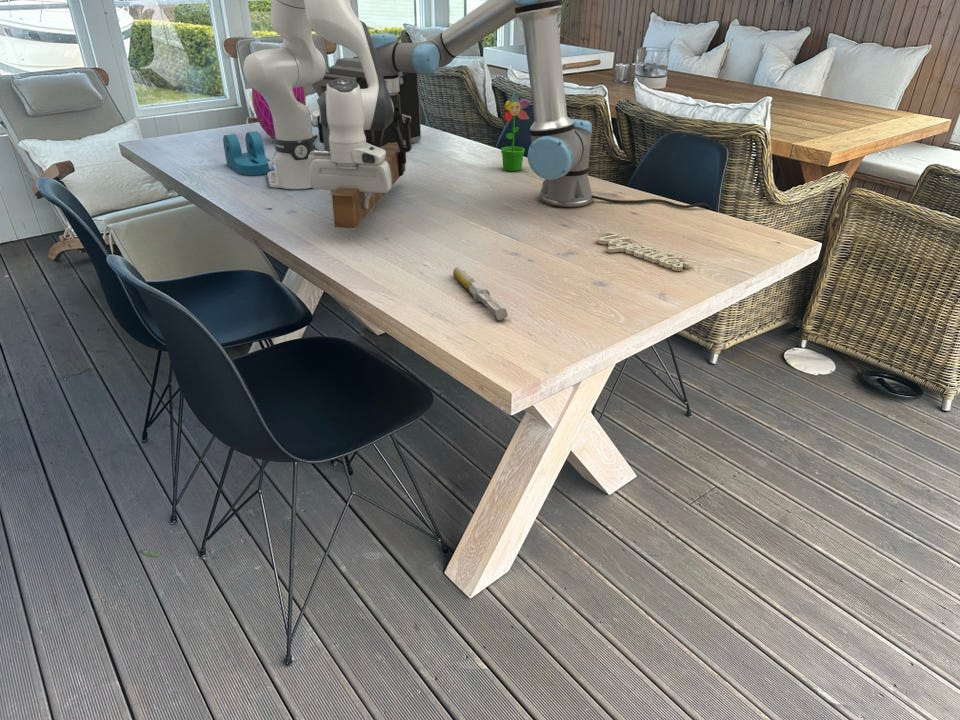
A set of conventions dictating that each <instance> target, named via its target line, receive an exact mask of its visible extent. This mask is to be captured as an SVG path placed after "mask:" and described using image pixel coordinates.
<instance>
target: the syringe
mask: <svg viewBox="0 0 960 720" xmlns="http://www.w3.org/2000/svg"><path fill="white" fill-rule="evenodd" d="M452 274H453V277H454V279H455V280H457V281H458V282H459V283H460V285H462V287H464V289H466V290H467V291H468V293H470V295H471V296H472V298H473V300H474V302H477V303H478V302H480V303H482V304H483V305H484V306H485V307H486V308H487V309H488V310H489V311H490V312H491V313H492V314H493V315H494V316H495V317H496V320H497V321H503V320H504V319H506V318H507V317H509V314H508V310H507V308H506V307H502V306H501V305H500V303H498V302H497V301H496V300H494V299H493V298H492V297H491V296H490V295H491V293H490V290H488V289H486V288H483V287H482V286H481V285H480V284H479V283H478V282H477V281H476V280H474V278H473V277H471V275H469V274H468V273H467V272H466V270H465V269H464V268H463V267H462V266H456V267H454V268H453V271H452Z"/></svg>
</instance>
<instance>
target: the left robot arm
mask: <svg viewBox="0 0 960 720" xmlns="http://www.w3.org/2000/svg"><path fill="white" fill-rule="evenodd" d="M270 6H271V7H270V15H269V16H270V19H269V22H270V25H271V27H272V29H273V30H274V31H275V33H276V34H278V36H280V37H282V38H283V39H282V40H283V41H282V42H283V43H282V46H281V47H276V48H267V49H266V48H265V49H261V50H258V51H254V52H253V53H250V54H248V55H247V56H246V57H245V59H244V61H243V68H242V69H243V75H244V79H245V80H246V82H247V84H248V85H249V86H250V87H251V89H252V88H253V89H255V90H256V91H258V92H259V93H260V94H261V95H262V96H263V97H264V99H265V100H266V102H267V104H268V106H269V108H270V110H271V114H272V119H273V124H274V130H275V139H274V141H273V143H274V150H275V152H274V154H273V156H272V160H270V161H268V167H269V169H271V171H270V172H268V173H266V174H267V180H268V185H269V188H273V189H274V188H275V189H278V188H279V189H286V190H305V189H311V188H312V189H313V190H323V191H324V190H328V191H330V196H332V194H333V193H334V192H335V191H336V190H337V189H339V188H343V189H359V192H365V196H367V198H366V200H363V201H362V202H361V205H362V206H361V207H362V209H368V208H369V200H370V198H371V196H372V192H374V193H385V194H388V193H389V192H390V190H391V189H392V187H393V185H392V179H391V172H390V167H389V164H388V163H387V161H385V160H384V159H385V157H386V151H385V150H384V149H381V148H379V147H376V146H373V145H371V144H369V143H366V136H365V134H364V130H374V131H383V130H385V129H386V128H387V127H388V126H389V125H390V124H391V123H392V121H393V119H394V107H393V103H392V100H391V98H390V95H389V92H388V89H387V87H386V84H385V81H384V78H383V74H382V71H381V67H380V64H379V61H378V57H377V54H376V51H375V47H374V44H373V41H372V38H371V35H372V34H371V33H370V32H371V31H370V30H369V27H368V26H367V24H366V23H365V22H364V21H362V20H361V19H359V17H358V16H357V15H356V13H355V12H354V10H353V8H352V3H351V0H271V5H270ZM313 32H314V33H315V34H316V35H318V36H319V37H321V38H322V39H324V40H325V41H327V42H330V43H333V44H335V45H338V46H341V47H344V48H346V49H347V50H349V51H351V52H353V53H354V54H355V55H356V56H358V57H359V59H360V61H361V64H362V68H363V71H364V74H365V78H366V81H367V84H368V88H367V89H360V86H359V84H358V83H357V82H355V81H353V80H349V79H335V80H332V81H330V82H329V83H328V84H327V89H326V91H325V92H323V93H322V94H321V96H320V97H319V96H318V98H317V99H316V101H317V105H318V110H319V123H320V124H321V125H323V126H324V127H325V128H326V129H328V130H330V135H329V146H330V150H319V149H318V148H317V147H316V146H317V145H316V138H319V135H317V134H316V135H314V134H313V122H312V113H311V111H310V109H309V108H308V106H305V105H304V104H302V103H300V102H298V101H297V100H296V98H295V96H294V93H293V88H297V87H309V86H312V84H314V83H316V82H319V81H321V80H322V79H323V78H324V76H325V72H327V64H326V59H325V57H324V55H323V54H322V52H321V51H320V49H318V48H317V47H316V45H315V43H314V39H313Z"/></svg>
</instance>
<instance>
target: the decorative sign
mask: <svg viewBox="0 0 960 720" xmlns="http://www.w3.org/2000/svg"><path fill="white" fill-rule="evenodd" d="M598 244H601V245H607V253H611V254H612V253H613V254H614V253H625V254H627V255H633V256H634V257H636V258H638V259H644V260H645V261H648V262H651V263H653V264H658V265H659V266H662V267H665V268H667V269H671V270H673V271H676V272H681V271H683V268H684V269H689V266H690V263H689V262H688V261H683V258H684V257H683V256H682V255H674V254H673V252H658V251H657V249H656V248H654V247H653V246H646V245H644V244H642V245H641V246H640V245H636V244H634V243H631V237H629V236H622V237H619V233H618V232H617V233H616V232H614V231H613V232H612V231H605V235H604V236H600V237H599V238H598Z"/></svg>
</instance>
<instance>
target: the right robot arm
mask: <svg viewBox="0 0 960 720" xmlns="http://www.w3.org/2000/svg"><path fill="white" fill-rule="evenodd" d="M562 1H563V0H486V1H484V2H483V3H482V4H480V5H478V7H476V8H474V9H473V10H471V11H470V12H469V13H467V14H466V15H464V16H463V17H462V18H460V19H458V20H457V21H455V22H454V23H453V24H452V25H450V26H449V27H447V28H446V29H444V30H443V31H442V32H440V33H439V34H437V35H436V36H435V37H433V38H431V39H429V40H424V41H419V42H399V41H398V37H397V35H396V34H395V33H389V32H388V33H387V32H385V33H384V32H383V33H381V32H380V33H373V34H370V35H371V38H372V41H373V44H374V47H375V51H376V54H377V57H378V61H379V64H380V67H381V71H382V74H383V78H384V81H385V84H386V87H387V89H388V92H389V95H390V98H391V100H392V103H393V107H394V119H393V121H392V123H391V124H390V125H389V126H388V127H390V128H392V129H393V131H394V134H395V137H396V140H397V143H398V146H399V150H400V153H399V154H398V163H399V176H400V177H403V175H404V174H405V172H404V169H403V164H405V165H406V163H407V153H409V152H411V150H413V143H411V131H410V122H411V116H406V115H403V114H402V111H401V107H400V95H399V94H398V92H399V91H400V89H399V72H408V73H418V74H420V75H429V74H431V75H432V74H434V73H435V72H437V69H438V68H444V67H446V66H448V65H449V64H451V63H453V61H454V59H455V58H457V57H458V56H459V55H461V54H463V53H464V52H465V51H467V50H468V49H470V48H472V47H473V46H475V45H476V44H477V43H479V42H480V41H483V40H484V39H485V38H487V37H488V36H490V35H492V34H493V33H494V32H496V31H497V30H499V29H501V28H502V27H504V26H506V25H507V24H508V23H509V22H511V21H512V20H515V19H516V18H518V19H519V20H520V21H521V22H522V29H523V37H524V45H525V46H524V47H525V54H526V61H527V71H528V79H529V85H530V94H531V95H530V96H531V103H532V110H533V111H532V112H533V119H534V121H533V123H532V124H531V126H530V128H529V133H530V141H531V144H530V145H529V148H528V151H527V163H528V165H529V167H530V169H531V171H532V172H533V173H534V174H535V175H537V176H538V177H539V178H541V179H543V182H542V185H541V186H542V187H541V189H540V192H539V200H540V202H542V203H543V204H546V205H549V206H553V207H558V208H559V207H560V208H580V207H584V206H588V205H589V204H591V203H592V199H594V200H600V201H604V202H607V203H616V204H643V203H661V204H662V203H663V204H666V205H669V206H671V207H675V208H680V209H681V208H682V209H691V208H697V207H705V208H707V209H708V210H710V211H711V210H713V208H712V206H710V205H709V204H708V203H706V202H705V203H704V202H699V203H693V204H681V203H680V204H679V203H677V202H673V201H669V200H665V199H659V198H648V199H632V200H631V199H627V200H625V199H624V200H623V199H612V198H606V197H602V196H598V195H593V193H592V188H591V184H590V179H589V165H590V153H591V142H592V134H593V131H592V130H593V129H592V127H593V126H592V123H591V122H590V121H589V120H585V119H579V118H570V117H569V116H568V112H567V102H566V93H565V92H566V91H565V83H564V72H563V63H562V62H563V61H562V52H561V43H560V34H559V33H560V32H559V23H558V14H559V12H560V11H561V9H562V8H563V2H562ZM401 118H402V119H403V123H405V124H404V130H405V142H406V146H405V145H404V142H403V139H402V135H401V132H400V129H399V124H398V123H399V121H400V119H401ZM367 132H368V143H369V144H371V145H373V146H374V130H367ZM383 134H384V130H383V131H378V134H377V140H376V145H375V146H376V147H379V148H381V144H382V139H383Z"/></svg>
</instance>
